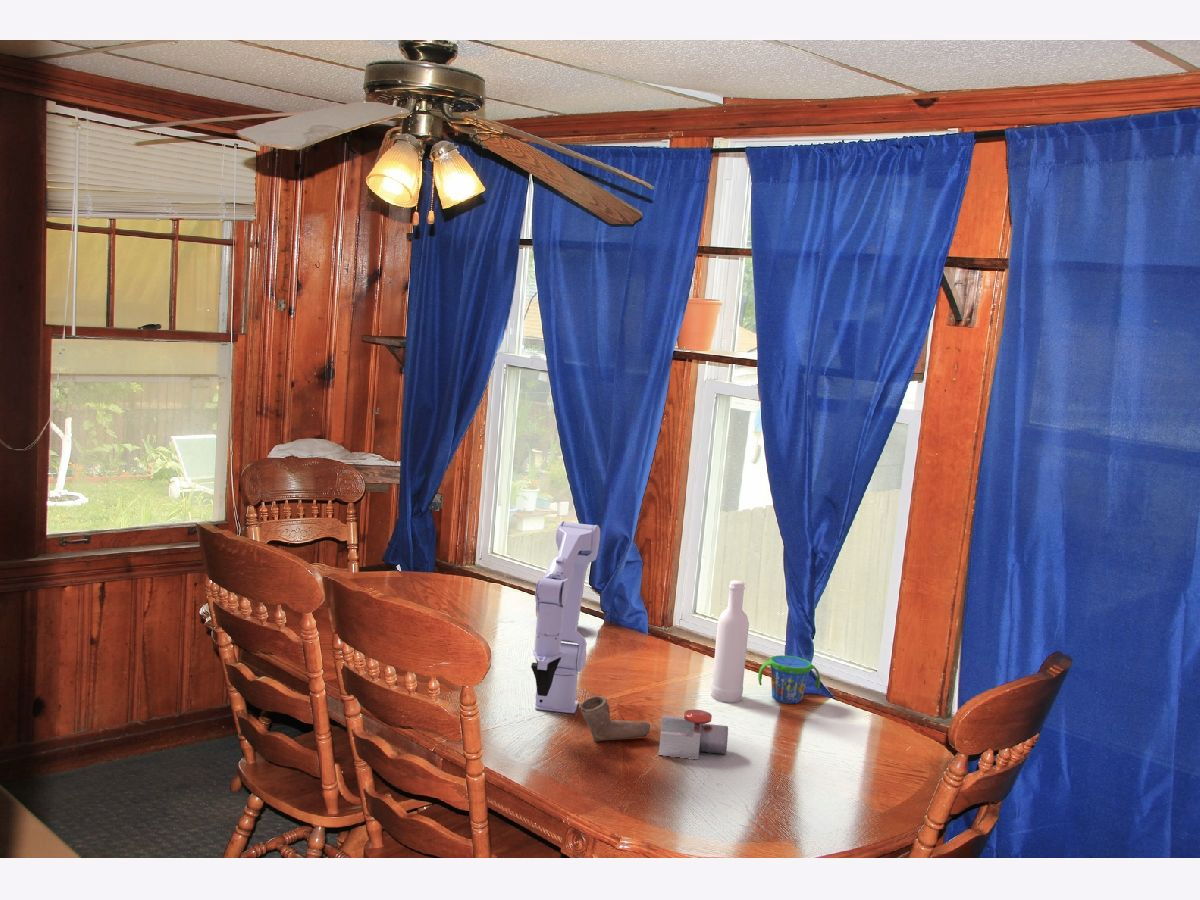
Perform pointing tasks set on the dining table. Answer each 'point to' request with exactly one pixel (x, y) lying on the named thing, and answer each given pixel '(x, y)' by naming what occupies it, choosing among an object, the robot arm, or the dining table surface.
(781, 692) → the snack cup
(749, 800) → the dining table surface
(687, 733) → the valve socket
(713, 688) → the bottle
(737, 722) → the dining table surface
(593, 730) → the pipe
